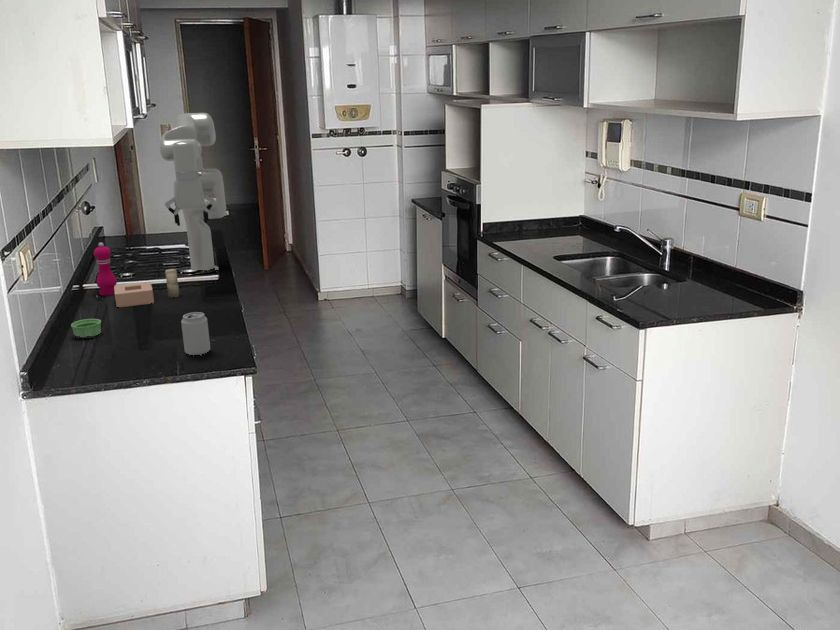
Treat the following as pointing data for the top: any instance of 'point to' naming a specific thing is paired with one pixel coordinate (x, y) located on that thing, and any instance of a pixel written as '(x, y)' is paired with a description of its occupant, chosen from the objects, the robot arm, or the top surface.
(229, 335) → the top surface
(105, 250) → the pepper mill
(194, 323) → the can
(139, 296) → the socket
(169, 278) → the peg
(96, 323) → the ramekin
